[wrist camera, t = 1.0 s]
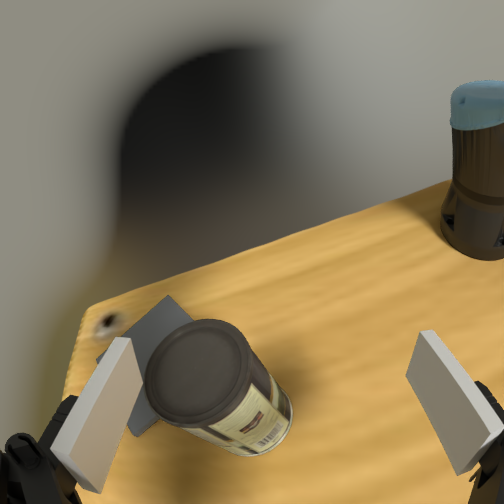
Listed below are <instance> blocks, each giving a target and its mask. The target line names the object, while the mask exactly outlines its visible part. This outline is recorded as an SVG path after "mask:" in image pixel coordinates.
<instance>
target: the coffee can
mask: <svg viewBox="0 0 504 504" xmlns="http://www.w3.org/2000/svg"><path fill="white" fill-rule="evenodd" d="M143 389H144V395H145V399H146V401H147V403H148V405H149V407H150V409H151V410H152V411H153V413H154V414H155V415H156V416H158V417H159V418H160V419H162V420H163V421H165V422H167V423H169V424H171V425H173V426H176V427H179V428H181V429H183V430H185V431H187V432H189V433H191V434H193V435H195V436H197V437H199V438H201V439H204V440H206V441H208V442H210V443H212V444H214V445H217V446H219V447H221V448H223V449H226V450H227V451H229V452H231V453H233V454H236V455H239V456H257V455H261V454H264V453H267V452H269V451H271V450H272V449H274V448H275V447H276V446H278V445H279V444H280V443H281V442H282V441H283V439H284V438H285V437H286V435H287V433H288V432H289V429H290V427H291V424H292V419H293V409H292V405H291V401H290V399H289V397H288V395H287V394H286V392H285V391H284V390H283V389H282V388H281V387H280V386H279V385H278V384H277V382H276V381H275V380H274V379H273V377H272V376H271V375H270V373H269V372H268V371H267V369H266V368H265V367H264V365H263V364H262V363H261V361H260V360H259V358H258V357H257V356H256V354H255V353H254V352H253V351H252V349H251V348H250V345H249V343H248V341H247V340H246V338H245V337H244V335H243V334H242V333H241V332H240V331H239V330H238V329H237V328H236V327H235V326H233V325H232V324H230V323H227V322H225V321H221V320H216V319H202V320H197V321H193V322H190V323H187V324H185V325H183V326H181V327H179V328H177V329H176V330H174V331H173V332H171V333H170V334H169V335H168V336H166V337H165V338H164V339H163V340H162V341H161V342H160V343H159V345H158V346H157V347H156V348H155V350H154V351H153V353H152V355H151V356H150V358H149V360H148V363H147V365H146V368H145V372H144V378H143Z"/></svg>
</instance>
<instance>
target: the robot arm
mask: <svg viewBox="0 0 504 504" xmlns="http://www.w3.org/2000/svg"><path fill="white" fill-rule="evenodd" d="M450 125H451V126H452V143H453V177H452V183H451V185H450V188H449V190H448V193H447V195H446V198H445V200H444V203H443V205H442V209H441V219H440V225H441V230H442V232H443V235H444V236H445V238H446V239H447V241H448V242H449V243H450V244H451V245H452V246H453V247H454V248H456V249H457V250H459V251H460V252H462V253H464V254H466V255H468V256H470V257H473V258H476V259H481V260H499V259H503V258H504V81H492V80H485V81H474V82H469V83H466V84H463V85H461V86H459V87H457V88H456V89H455V90H454V91H453V93H452V95H451V118H450ZM406 377H407V379H408V381H409V383H410V384H411V386H412V388H413V390H414V392H415V394H416V395H417V397H418V399H419V401H420V403H421V405H422V406H423V408H424V410H425V412H426V414H427V416H428V418H429V420H430V422H431V424H432V426H433V428H434V429H435V431H436V433H437V435H438V437H439V439H440V441H441V443H442V445H443V447H444V450H445V452H446V454H447V456H448V458H449V460H450V462H451V464H452V466H453V468H454V471H455V473H456V475H457V476H458V475H461V474H463V473H465V472H468V471H470V470H472V468H473V467H474V466H475V465H476V464H477V463H478V461H479V463H480V465H481V467H480V468H479V469H478V470H477V471H476V472H475V473H474V475H473V476H472V477H471V478H470V480H469V482H471V481H472V480H473V479H474V478H475V477H476V479H475V481H474V486H473V489H472V492H471V496H470V499H469V502H468V504H504V410H503V408H502V407H501V406H500V404H499V403H497V400H496V399H495V397H494V396H492V393H491V392H490V391H489V389H488V388H487V387H486V386H485V385H483V384H482V383H481V382H479V381H475V382H473V380H472V379H471V378H470V376H469V375H468V374H467V372H466V371H465V370H464V368H463V367H462V366H461V365H460V363H459V362H458V361H457V359H456V358H455V357H454V356H453V354H452V353H451V352H450V350H449V349H448V348H447V347H446V345H445V344H444V343H443V342H442V340H441V339H440V338H439V337H438V336H437V334H436V333H435V332H434V331H433V330H426V331H420V332H419V335H418V339H417V342H416V345H415V349H414V352H413V355H412V358H411V361H410V364H409V367H408V370H407V373H406ZM142 384H143V381H142V377H141V374H140V371H139V367H138V364H137V360H136V356H135V353H134V349H133V345H132V341H131V338H124V337H115V339H114V340H113V342H112V343H111V345H110V346H109V348H108V350H107V351H106V353H105V354H104V356H103V358H102V359H101V361H100V362H99V364H98V366H97V367H96V369H95V371H94V372H93V374H92V376H91V377H90V379H89V381H88V382H87V384H86V386H85V387H84V389H83V391H82V392H81V394H80V396H79V397H78V396H74V395H70V396H69V397H67V398H66V399H65V400H64V401H62V402H61V404H60V406H59V407H58V409H57V411H56V413H55V414H54V416H53V417H52V421H50V422H49V424H48V426H47V427H46V429H45V431H44V433H43V435H42V436H41V438H40V440H39V441H38V443H37V442H36V441H35V440H34V438H33V437H31V436H30V435H29V434H26V433H17V434H15V435H13V436H11V437H10V438H9V439H8V440H7V442H6V444H5V452H6V453H2V451H1V450H0V504H82V502H81V500H80V497H79V495H78V493H77V491H76V490H75V486H76V483H77V482H78V484H79V485H80V486H81V487H82V488H83V489H85V490H88V491H91V492H95V493H98V494H101V492H102V489H103V486H104V484H105V481H106V478H107V475H108V472H109V470H110V467H111V464H112V461H113V459H114V456H115V453H116V451H117V448H118V445H119V443H120V440H121V437H122V435H123V432H124V430H125V427H126V424H127V422H128V419H129V417H130V414H131V412H132V409H133V407H134V404H135V402H136V399H137V397H138V394H139V392H140V389H141V387H142Z"/></svg>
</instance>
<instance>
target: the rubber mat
mask: <svg viewBox="0 0 504 504" xmlns="http://www.w3.org/2000/svg"><path fill="white" fill-rule="evenodd" d="M193 321H194V320H193V319H192V318H191V317H190V316H189V315H188V314H187V313H186V312H185V311H184V310H183V309H182V308H181V307H180V306H179V305H178V304H177V303H176V302H175V301H174V300H173V299H172V298H171V297H170V296H169V295H167V296H166V297H165V298H164V299H163V300H161V301H160V302H159V303H158V304H157V305H156V306H155V307H154V308H152V309H151V310H150V311H149V312H148V313H147V314H146V315H145V316H143V317H142V318H141V319H140V320H139V321H138V322H137V323H136V324H134V325H133V326H132V327H131V328H130V329H129V330H128V331H127V332H126V333H124V334H123V335H122V336H121V337H124V338H131V341H132V345H133V349H134V353H135V356H136V360H137V364H138V367H139V371H140V374H141V377H142V381H143V378H144V372H145V368H146V365H147V363H148V360H149V358H150V356H151V355H152V353H153V351H154V350H155V348H156V347H157V346H158V345H159V343H160V342H161V341H162V340H163V339H164V338H165V337H166V336H168V335H169V334H170V333H171V332H173V331H174V330H176V329H177V328H179V327H181V326H183V325H185V324H187V323H190V322H193ZM107 350H108V349H107ZM107 350H106V351H107ZM106 351H105V352H103V353H102V354H101V355H100V356H99V357H98V358H97V359H96V361H97V364H99V362H100V361H101V359H102V358H103V356H104V354H105V353H106ZM159 419H160V418H159V417H158V416H156V415H155V414H154V413H153V411H152V410H151V409H150V407H149V405H148V403H147V401H146V399H145V395H144V389H143V384H142V387H141V389H140V392H139V394H138V397H137V399H136V402H135V404H134V407H133V409H132V412H131V414H130V417H129V419H128V422H127V425H128V427H129V429H130V431H131V432H132V434H133V435H134V436H136V437H138V436H140V435H141V434H142V433H143V432H144V431H146V430H147V429H148V428H149V427H150V426H152V425H153V424H154V423H155V422H156V421H157V420H159Z"/></svg>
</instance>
